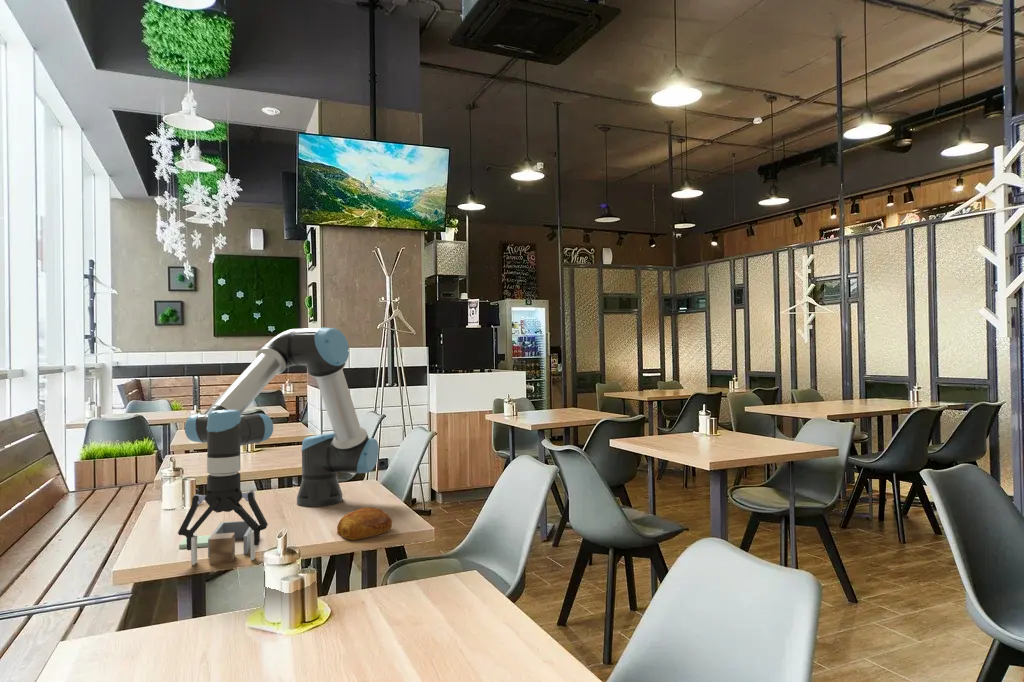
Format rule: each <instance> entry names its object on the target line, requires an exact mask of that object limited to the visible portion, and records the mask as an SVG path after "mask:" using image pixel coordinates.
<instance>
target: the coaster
mask: <svg viewBox="0 0 1024 682" xmlns="http://www.w3.org/2000/svg"><path fill="white" fill-rule="evenodd" d="M211 535H212V534H205V535H197V548H205V547H206V548H208V539H209V537H210V536H211ZM178 549H180V550H182V549H187V538H186V537H184V539H183V540H182V541H180V543H179V545H178Z"/></svg>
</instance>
